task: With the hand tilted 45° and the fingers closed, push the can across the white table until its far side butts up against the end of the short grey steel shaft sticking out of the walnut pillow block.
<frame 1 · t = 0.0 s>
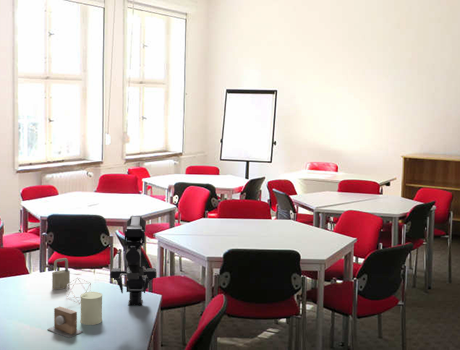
hand: (133, 293, 244), 15 cm above the table, tool pointing down, fingers open, 9 cm apart
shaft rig: (72, 328, 242), on the table
can: (91, 321, 251), on the table
geometric polyhedron: (78, 300, 277), on the table
padlock: (61, 288, 293), on the table
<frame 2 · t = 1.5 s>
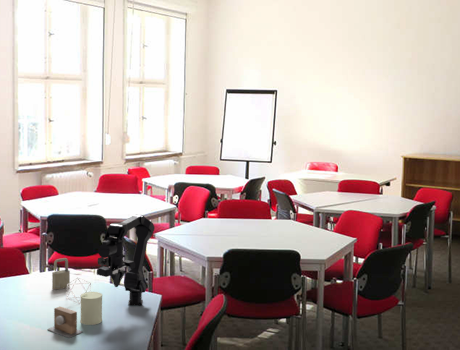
hand: (116, 286, 257), 13 cm above the table, tool pointing down, fingers closed
nothing on the table moved.
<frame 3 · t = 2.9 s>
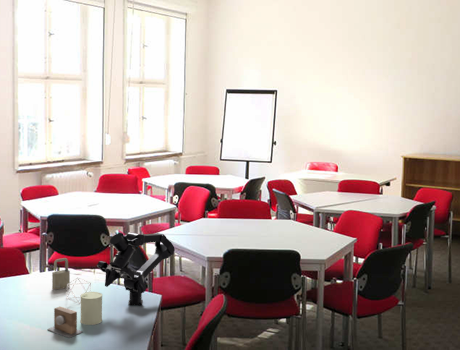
hand: (105, 286, 256), 13 cm above the table, tool tilted 45°, fingers closed
nothing on the table moved.
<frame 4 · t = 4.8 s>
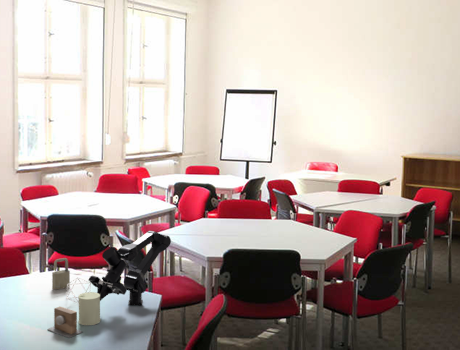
hand: (97, 301, 253), 8 cm above the table, tool tilted 45°, fingers closed, pressing on can
can: (89, 321, 250), on the table, touching gripper
everything else where it was.
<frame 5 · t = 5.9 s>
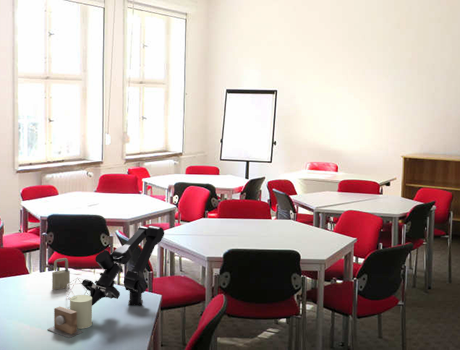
hand: (90, 305, 249), 7 cm above the table, tool tilted 45°, fingers closed
can: (80, 325, 246), on the table
everything else where it was.
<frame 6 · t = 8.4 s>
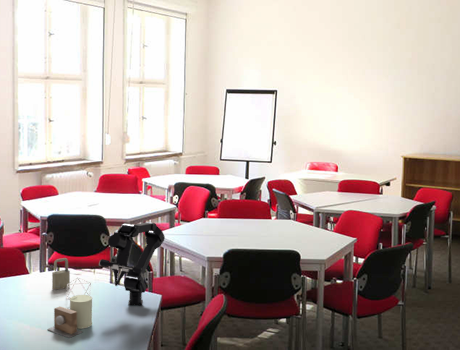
hand: (115, 285, 257), 13 cm above the table, tool tilted 25°, fingers closed
nothing on the table moved.
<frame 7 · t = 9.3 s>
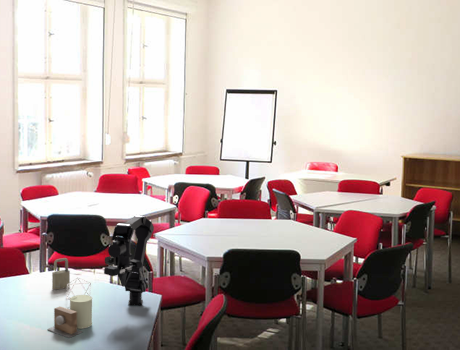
hand: (123, 286, 258), 13 cm above the table, tool pointing down, fingers closed
nothing on the table moved.
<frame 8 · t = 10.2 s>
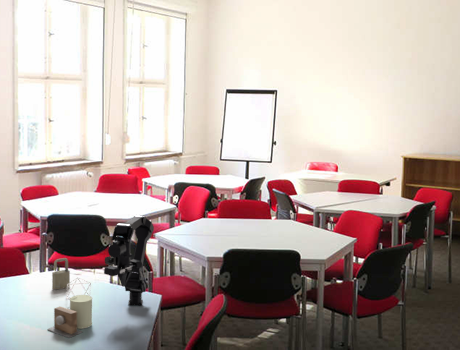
hand: (123, 286, 258), 13 cm above the table, tool pointing down, fingers closed
nothing on the table moved.
at the end: can 0.4 cm from the target spot, on the table; can tilted 0°; can moved 5.6 cm from its start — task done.
